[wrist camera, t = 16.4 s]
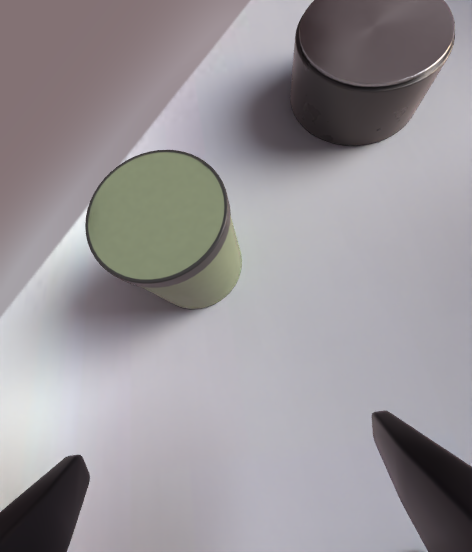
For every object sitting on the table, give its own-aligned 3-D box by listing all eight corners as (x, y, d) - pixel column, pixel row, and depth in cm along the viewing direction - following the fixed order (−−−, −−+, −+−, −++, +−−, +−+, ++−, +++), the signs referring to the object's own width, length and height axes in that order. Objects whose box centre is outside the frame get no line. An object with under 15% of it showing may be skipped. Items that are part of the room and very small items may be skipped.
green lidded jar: (252, 229, 19) (243, 158, 12) (230, 320, 17) (205, 298, 10) (166, 214, 20) (113, 141, 13) (139, 299, 18) (62, 267, 11)
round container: (422, 52, 21) (462, -26, 17) (412, 153, 19) (455, 93, 14) (301, 46, 22) (309, -28, 18) (279, 138, 20) (282, 80, 16)
